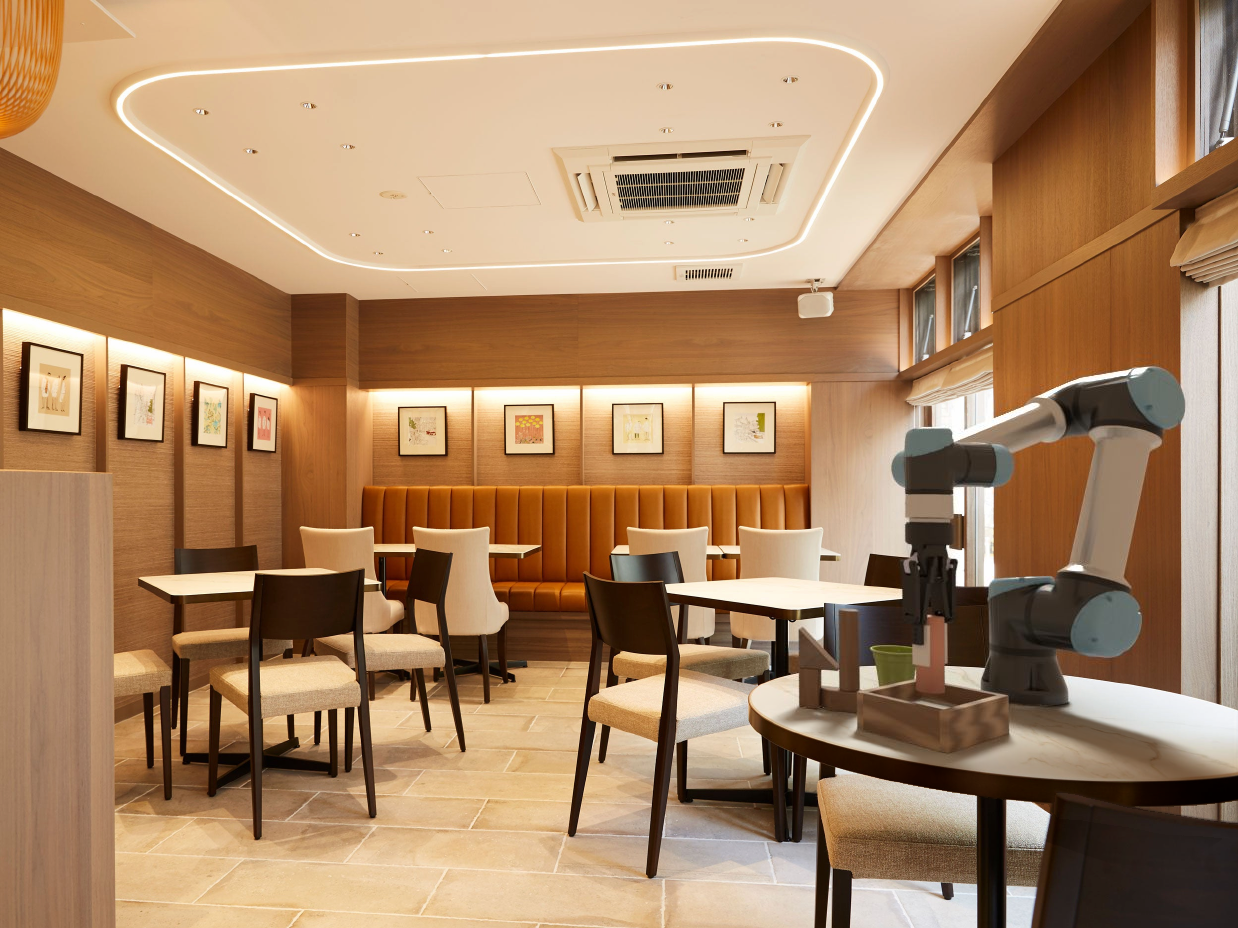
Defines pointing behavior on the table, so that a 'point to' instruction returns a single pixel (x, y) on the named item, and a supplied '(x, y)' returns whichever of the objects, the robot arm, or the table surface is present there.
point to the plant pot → (893, 664)
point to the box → (933, 715)
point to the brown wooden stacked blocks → (831, 667)
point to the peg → (933, 660)
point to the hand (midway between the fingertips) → (930, 663)
